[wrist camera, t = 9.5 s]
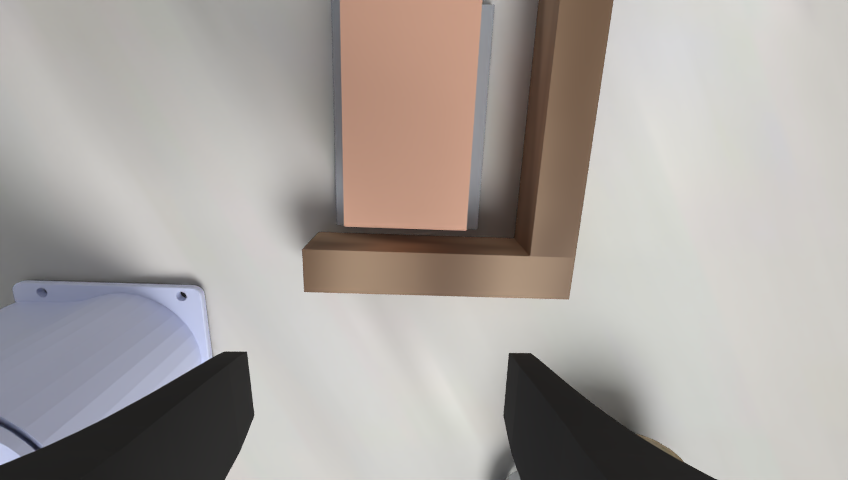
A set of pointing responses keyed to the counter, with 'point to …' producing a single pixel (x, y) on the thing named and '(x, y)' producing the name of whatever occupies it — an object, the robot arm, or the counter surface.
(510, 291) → the brown l-shaped piece
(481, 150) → the mat
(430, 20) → the block
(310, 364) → the counter surface
